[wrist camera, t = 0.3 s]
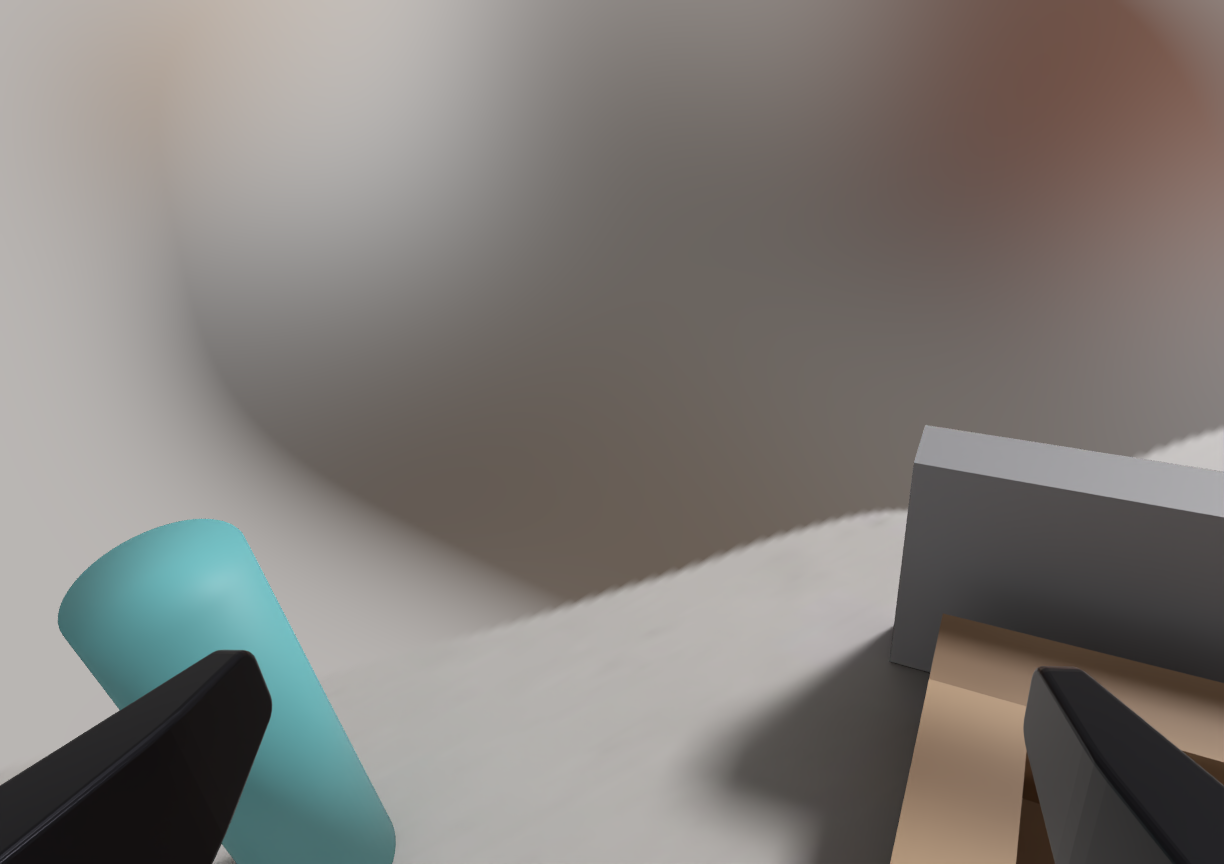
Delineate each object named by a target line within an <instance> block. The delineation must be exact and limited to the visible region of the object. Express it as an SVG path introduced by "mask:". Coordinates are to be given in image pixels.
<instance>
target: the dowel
mask: <svg viewBox="0 0 1224 864" xmlns="http://www.w3.org/2000/svg"><path fill="white" fill-rule="evenodd" d="M58 625H59V629H60V631H61V633H62V634H63V636H64V637H65V639H66V640H67V641H68V643H69V644H70V645H71V647H72V648H73V649H74V651H75V652H76V653H77V654H78V656H79V657H80V658H81V660H82V661H83V662H84V664H85V665H86V666H87V668H88V669H89V670H90V672H91V673H92V674H93V676H94V677H95V678H96V679H97V681H98V682H99V683H100V684H101V686H102V687H103V689H104V690H105V691H106V692H107V694H108V695H109V696H110V698H111V699H112V700H113V702H114V703H115V704H116V706H117V707H118V708H119V710H121V709H123V708H125V707H126V706H128V705H129V704H131V703H133V702H134V701H136V700H137V699H139V698H141V697H142V696H144V695H145V694H147V693H149V692H150V691H152V690H153V689H155V688H156V687H158V686H160V685H161V684H163V683H164V682H166V681H168V680H169V679H171V678H172V677H174V676H176V675H177V674H179V673H180V672H182V671H184V670H185V669H187V668H188V667H190V666H191V665H193V664H195V663H196V662H198V661H199V660H201V659H203V658H204V657H206V656H207V655H209V654H211V653H212V652H214V651H217V650H246V651H249V652H251V653H252V654H253V655H254V656H255V658H256V660H257V662H258V665H259V667H260V670H261V672H262V675H263V677H264V680H265V682H266V685H267V687H268V690H269V692H270V695H271V698H272V713H271V718H270V721H269V724H268V726H267V729H266V732H265V734H264V737H263V739H262V742H261V745H260V747H259V750H258V753H257V755H256V758H255V760H254V763H253V766H252V768H251V771H250V774H249V776H248V779H247V781H246V784H245V787H244V789H243V792H242V795H241V797H240V800H239V802H238V805H237V808H236V810H235V813H234V815H233V818H232V820H231V823H230V825H229V828H228V830H227V832H226V835H225V837H224V840H223V842H222V845H223V846H224V847H225V849H226V850H227V851H228V853H229V854H230V855H231V856H232V858H233V859H234V860H235V862H236V863H237V864H392V862H393V858H394V854H395V846H396V840H395V832H394V828H393V825H392V822H391V820H390V818H389V816H388V815H387V813H386V811H385V809H384V807H383V805H382V803H381V801H380V799H379V797H378V795H377V793H376V791H375V789H374V787H373V785H372V783H371V781H370V780H369V778H368V776H367V774H366V772H365V770H364V768H363V766H362V764H361V762H360V760H359V758H358V756H357V754H356V752H355V750H354V748H353V747H352V745H351V743H350V741H349V739H348V737H347V735H346V733H345V731H344V729H343V727H342V725H341V723H340V721H339V719H338V717H337V715H336V714H335V712H334V710H333V708H332V706H331V704H330V702H329V700H328V698H327V696H326V694H325V692H324V690H323V688H322V686H321V684H320V682H319V680H318V679H317V677H316V675H315V673H314V671H313V669H312V667H311V665H310V663H309V661H308V659H307V657H306V655H305V653H304V652H303V649H302V647H301V646H300V644H299V642H298V640H297V638H296V636H295V634H294V632H293V630H292V628H291V626H290V624H289V622H288V620H287V618H286V616H285V614H284V612H283V611H282V609H281V607H280V605H279V603H278V601H277V599H276V597H275V595H274V593H273V591H272V589H271V588H270V585H269V583H268V581H267V579H266V578H265V576H264V574H263V572H262V570H261V568H260V566H259V564H258V562H257V560H256V558H255V556H254V554H253V552H252V550H251V548H250V547H249V545H248V543H247V541H246V539H245V537H244V535H243V534H242V532H241V531H240V530H239V529H238V528H236V527H235V526H233V525H232V524H229V523H227V522H224V521H220V520H213V519H193V520H185V521H179V522H175V523H171V524H167V525H164V526H160V527H157V528H155V529H152V530H149V531H147V532H144V533H142V534H140V535H138V536H135V537H133V538H131V539H129V540H128V541H126V542H124V543H122V544H120V545H119V546H117V547H115V548H114V549H112V550H111V551H109V552H108V553H106V554H105V555H103V556H102V557H101V558H100V559H98V560H97V561H96V562H94V563H93V564H92V565H91V566H90V567H89V568H88V569H87V570H85V571H84V572H83V573H82V574H81V576H80V577H79V578H78V579H77V580H76V581H75V582H74V583H73V585H72V586H71V587H70V589H69V590H68V592H67V594H66V595H65V597H64V599H63V601H62V603H61V606H60V609H59V613H58Z"/></svg>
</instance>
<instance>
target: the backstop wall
mask: <svg viewBox="0 0 1224 864" xmlns="http://www.w3.org/2000/svg"><path fill="white" fill-rule="evenodd" d="M943 614H947V615H951V616H956V617H960V618H964V619H968V620H972V621H976V622H980V623H984V624H988V625H992V626H996V627H1000V628H1004V629H1008V630H1012V631H1016V632H1020V633H1024V634H1028V635H1032V636H1036V637H1040V638H1044V639H1048V640H1052V641H1056V642H1060V643H1064V644H1068V645H1072V646H1076V647H1080V648H1084V649H1088V650H1092V651H1096V652H1100V653H1104V654H1108V655H1113V656H1117V657H1121V658H1125V659H1129V660H1133V661H1137V662H1141V663H1145V664H1149V665H1153V666H1157V667H1161V668H1165V669H1169V670H1173V671H1177V672H1181V673H1185V674H1189V675H1193V676H1197V677H1201V678H1205V679H1209V680H1213V681H1217V682H1221V683H1224V472H1222V471H1216V470H1210V469H1203V468H1197V467H1191V466H1184V465H1178V464H1171V463H1165V462H1159V461H1152V460H1146V459H1139V458H1133V457H1127V456H1120V455H1113V454H1107V453H1101V452H1095V451H1088V450H1082V449H1076V448H1069V447H1063V446H1056V445H1050V444H1044V443H1037V442H1030V441H1024V440H1018V439H1012V438H1005V437H999V436H992V435H985V434H980V433H973V432H967V431H960V430H954V429H947V428H941V427H935V426H929V425H925V428H924V431H923V435H922V438H921V441H920V445H919V448H918V451H917V454H916V458H915V461H914V466H913V475H912V483H911V491H910V499H909V507H908V515H907V524H906V532H905V540H904V548H903V556H902V565H901V573H900V581H899V589H898V597H897V606H896V614H895V622H894V630H893V638H892V646H891V655H890V662H894V663H897V664H901V665H904V666H908V667H912V668H915V669H919V670H922V671H926V672H929V673H930V672H931V667H932V662H933V658H934V653H935V648H936V643H937V639H938V634H939V629H940V624H941V620H942V615H943Z"/></svg>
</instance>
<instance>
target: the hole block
mask: <svg viewBox="0 0 1224 864" xmlns="http://www.w3.org/2000/svg"><path fill="white" fill-rule="evenodd" d="M1041 666H1067V667H1077V668H1079V669H1081V670H1083V671H1085V672H1086V673H1087V674H1089V675H1090V676H1091V677H1092V678H1093V679H1095V680H1096V681H1097V682H1098V683H1100V684H1101V685H1102V686H1103V687H1104V688H1106V689H1107V690H1108V691H1109V692H1111V693H1112V694H1113V695H1114V696H1115V697H1117V698H1118V699H1119V700H1120V701H1122V702H1123V703H1124V704H1125V705H1126V706H1128V707H1129V708H1130V709H1131V710H1133V711H1134V712H1135V713H1136V714H1137V715H1139V716H1140V717H1141V718H1142V719H1144V720H1145V721H1146V722H1147V723H1148V724H1150V725H1151V726H1152V727H1153V728H1155V729H1156V730H1157V731H1158V732H1159V733H1161V734H1162V735H1163V736H1164V737H1166V738H1167V739H1168V740H1169V741H1170V742H1172V743H1173V744H1174V745H1175V746H1176V747H1178V748H1179V749H1180V750H1181V751H1183V752H1184V753H1185V754H1186V755H1187V756H1189V757H1190V758H1191V759H1192V760H1194V761H1195V762H1196V763H1197V764H1198V765H1200V766H1201V767H1202V768H1203V769H1205V770H1206V771H1207V772H1208V773H1209V774H1211V775H1212V776H1213V777H1214V778H1216V779H1217V780H1218V781H1219V782H1220V783H1222V784H1223V785H1224V683H1221V682H1217V681H1213V680H1209V679H1205V678H1201V677H1197V676H1193V675H1189V674H1185V673H1181V672H1177V671H1173V670H1169V669H1165V668H1161V667H1157V666H1153V665H1149V664H1145V663H1141V662H1137V661H1133V660H1129V659H1125V658H1121V657H1117V656H1113V655H1108V654H1104V653H1100V652H1096V651H1092V650H1088V649H1084V648H1080V647H1076V646H1072V645H1068V644H1064V643H1060V642H1056V641H1052V640H1048V639H1044V638H1040V637H1036V636H1032V635H1028V634H1024V633H1020V632H1016V631H1012V630H1008V629H1004V628H1000V627H996V626H992V625H988V624H984V623H980V622H976V621H972V620H968V619H964V618H960V617H956V616H951V615H947V614H943V615H942V620H941V624H940V629H939V634H938V639H937V643H936V648H935V653H934V658H933V662H932V667H931V672H930V677H929V681H928V686H927V691H926V696H925V700H924V705H923V710H922V715H921V719H920V724H919V729H918V734H917V738H916V743H915V748H914V752H913V757H912V762H911V767H910V771H909V776H908V781H907V786H906V790H905V795H904V800H903V805H902V809H901V814H900V819H899V824H898V828H897V833H896V838H895V843H894V847H893V852H892V857H891V862H890V864H1055V861H1054V857H1053V853H1052V849H1051V845H1050V841H1049V837H1048V833H1047V829H1046V825H1045V821H1044V817H1043V813H1042V810H1041V806H1040V802H1039V798H1038V794H1037V790H1036V786H1035V782H1034V778H1033V774H1032V770H1031V766H1030V762H1029V758H1028V754H1027V750H1026V745H1025V740H1024V731H1023V724H1024V717H1025V711H1026V706H1027V701H1028V695H1029V690H1030V685H1031V679H1032V675H1033V673H1034V671H1035V670H1036V669H1037V668H1038V667H1041Z"/></svg>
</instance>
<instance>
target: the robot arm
mask: <svg viewBox="0 0 1224 864" xmlns="http://www.w3.org/2000/svg"><path fill="white" fill-rule="evenodd" d="M271 713H272V698H271V695H270V692H269V690H268V687H267V685H266V682H265V680H264V677H263V675H262V672H261V670H260V667H259V665H258V662H257V660H256V658H255V656H254V655H253V654H252V653H251V652H249V651H246V650H217V651H214V652H212V653H211V654H209V655H207V656H206V657H204V658H203V659H201V660H199V661H198V662H196V663H195V664H193V665H191V666H190V667H188V668H187V669H185V670H184V671H182V672H180V673H179V674H177V675H176V676H174V677H172V678H171V679H169V680H168V681H166V682H164V683H163V684H161V685H160V686H158V687H156V688H155V689H153V690H152V691H150V692H149V693H147V694H145V695H144V696H142V697H141V698H139V699H137V700H136V701H134V702H133V703H131V704H129V705H128V706H126V707H125V708H123V709H121V710H120V711H118V712H117V713H115V714H113V715H112V716H110V717H109V718H107V719H106V720H104V721H102V722H101V723H99V724H98V725H96V726H94V727H93V728H91V729H90V730H88V731H87V732H85V733H83V734H82V735H80V736H78V737H77V738H75V739H74V740H72V741H70V742H69V743H67V744H66V745H64V746H63V747H61V748H59V749H58V750H56V751H55V752H53V753H51V754H50V755H48V756H47V757H45V758H43V759H42V760H40V761H39V762H37V763H35V764H34V765H32V766H31V767H29V768H27V769H26V770H24V771H23V772H21V773H20V774H18V775H16V776H15V777H13V778H12V779H10V780H8V781H7V782H5V783H4V784H2V785H0V864H212V863H213V861H214V859H215V857H216V855H217V852H218V850H219V848H220V846H221V844H222V842H223V840H224V837H225V835H226V832H227V830H228V828H229V825H230V823H231V820H232V818H233V815H234V813H235V810H236V808H237V805H238V802H239V800H240V797H241V795H242V792H243V789H244V787H245V784H246V781H247V779H248V776H249V774H250V771H251V768H252V766H253V763H254V760H255V758H256V755H257V753H258V750H259V747H260V745H261V742H262V739H263V737H264V734H265V732H266V729H267V726H268V724H269V721H270V718H271ZM1023 731H1024V740H1025V745H1026V750H1027V754H1028V758H1029V762H1030V766H1031V770H1032V774H1033V778H1034V782H1035V786H1036V790H1037V794H1038V798H1039V802H1040V806H1041V810H1042V813H1043V817H1044V821H1045V825H1046V829H1047V833H1048V837H1049V841H1050V845H1051V849H1052V853H1053V857H1054V861H1055V864H1224V785H1223V784H1222V783H1220V782H1219V781H1218V780H1217V779H1216V778H1214V777H1213V776H1212V775H1211V774H1209V773H1208V772H1207V771H1206V770H1205V769H1203V768H1202V767H1201V766H1200V765H1198V764H1197V763H1196V762H1195V761H1194V760H1192V759H1191V758H1190V757H1189V756H1187V755H1186V754H1185V753H1184V752H1183V751H1181V750H1180V749H1179V748H1178V747H1176V746H1175V745H1174V744H1173V743H1172V742H1170V741H1169V740H1168V739H1167V738H1166V737H1164V736H1163V735H1162V734H1161V733H1159V732H1158V731H1157V730H1156V729H1155V728H1153V727H1152V726H1151V725H1150V724H1148V723H1147V722H1146V721H1145V720H1144V719H1142V718H1141V717H1140V716H1139V715H1137V714H1136V713H1135V712H1134V711H1133V710H1131V709H1130V708H1129V707H1128V706H1126V705H1125V704H1124V703H1123V702H1122V701H1120V700H1119V699H1118V698H1117V697H1115V696H1114V695H1113V694H1112V693H1111V692H1109V691H1108V690H1107V689H1106V688H1104V687H1103V686H1102V685H1101V684H1100V683H1098V682H1097V681H1096V680H1095V679H1093V678H1092V677H1091V676H1090V675H1089V674H1087V673H1086V672H1085V671H1083V670H1081V669H1079V668H1077V667H1067V666H1041V667H1038V668H1037V669H1036V670H1035V671H1034V673H1033V675H1032V679H1031V685H1030V690H1029V695H1028V701H1027V706H1026V711H1025V717H1024V724H1023Z"/></svg>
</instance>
